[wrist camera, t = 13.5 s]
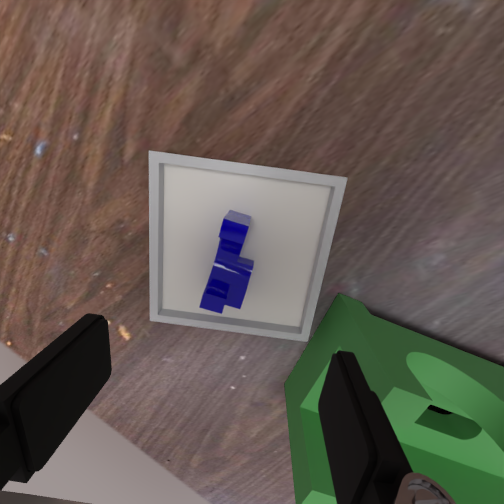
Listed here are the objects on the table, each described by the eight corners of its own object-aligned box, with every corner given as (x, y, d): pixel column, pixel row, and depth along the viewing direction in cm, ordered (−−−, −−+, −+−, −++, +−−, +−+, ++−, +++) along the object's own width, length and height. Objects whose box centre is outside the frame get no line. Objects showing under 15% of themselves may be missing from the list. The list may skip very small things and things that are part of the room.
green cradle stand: (283, 381, 30) (296, 510, 19) (337, 291, 26) (394, 386, 15) (453, 442, 32) (556, 591, 21) (528, 367, 28) (707, 502, 17)
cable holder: (242, 295, 25) (238, 318, 22) (208, 286, 25) (199, 307, 21) (267, 221, 23) (268, 232, 19) (229, 209, 23) (223, 218, 19)
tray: (339, 176, 22) (347, 177, 20) (304, 328, 27) (307, 341, 25) (159, 152, 22) (148, 150, 20) (158, 308, 27) (149, 320, 25)
